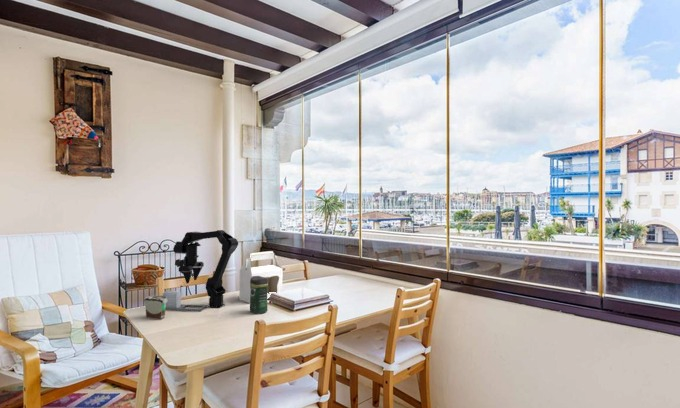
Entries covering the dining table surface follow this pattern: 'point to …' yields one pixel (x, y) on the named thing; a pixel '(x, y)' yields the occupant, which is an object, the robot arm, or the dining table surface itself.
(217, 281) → the robot arm
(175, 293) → the medicine box
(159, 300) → the food container
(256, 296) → the coffee jar
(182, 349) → the dining table surface
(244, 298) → the gable box
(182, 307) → the rail
